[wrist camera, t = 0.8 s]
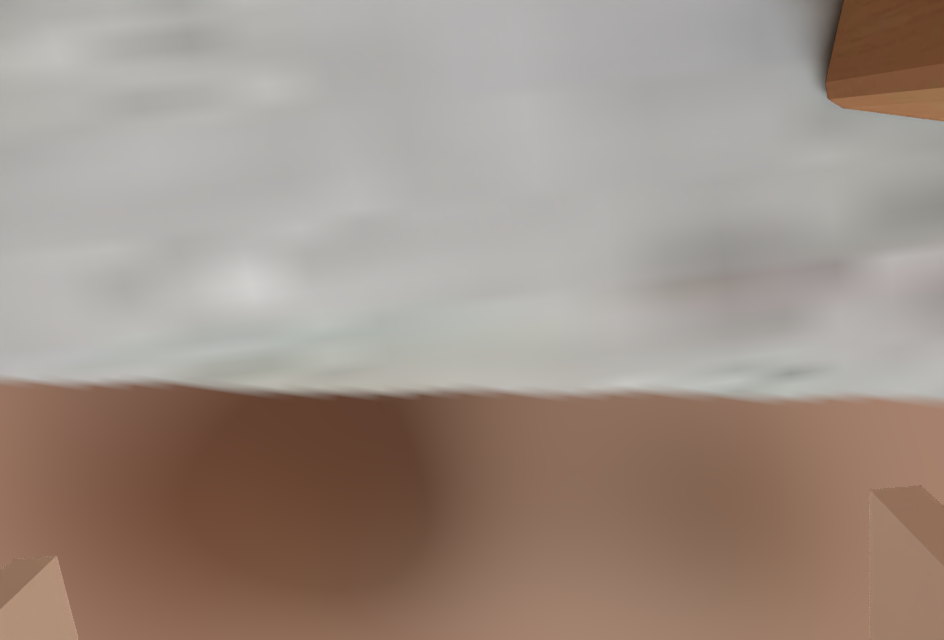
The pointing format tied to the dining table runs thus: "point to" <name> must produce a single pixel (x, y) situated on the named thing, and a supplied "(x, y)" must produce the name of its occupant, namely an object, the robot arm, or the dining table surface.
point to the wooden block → (889, 58)
